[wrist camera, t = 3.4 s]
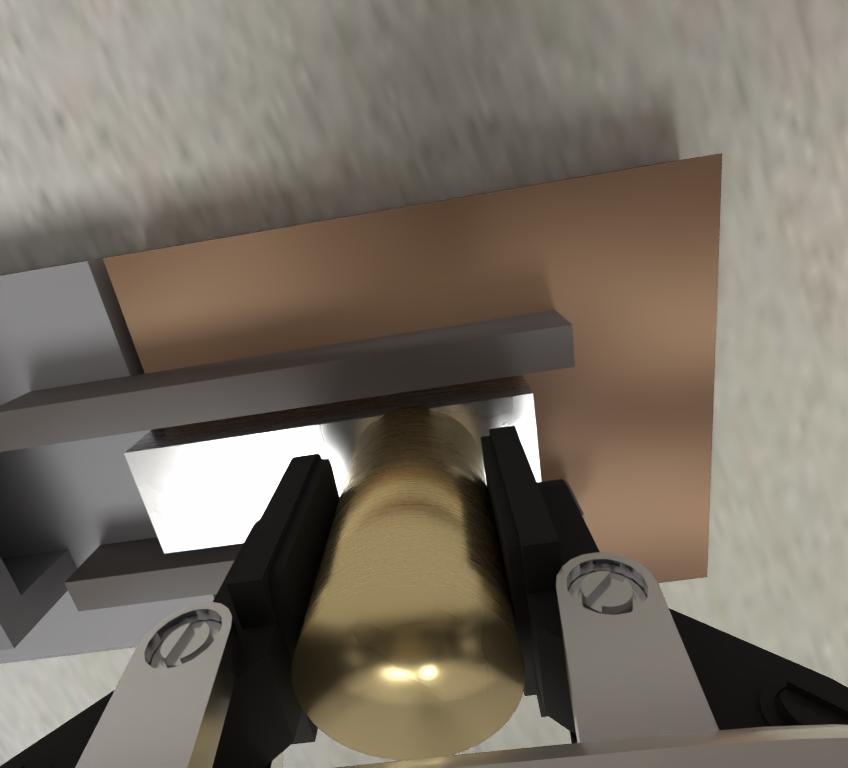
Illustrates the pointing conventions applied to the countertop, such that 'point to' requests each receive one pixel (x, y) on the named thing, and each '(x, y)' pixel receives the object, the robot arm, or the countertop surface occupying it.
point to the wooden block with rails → (436, 348)
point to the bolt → (373, 554)
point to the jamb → (66, 469)
